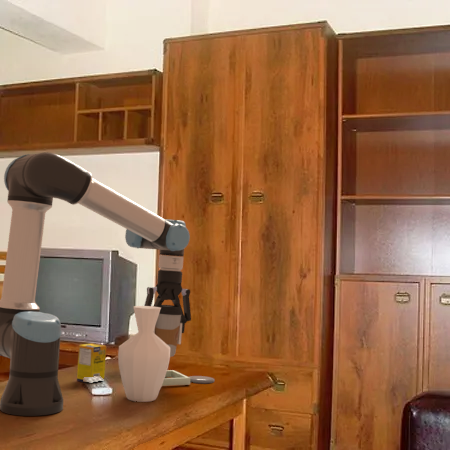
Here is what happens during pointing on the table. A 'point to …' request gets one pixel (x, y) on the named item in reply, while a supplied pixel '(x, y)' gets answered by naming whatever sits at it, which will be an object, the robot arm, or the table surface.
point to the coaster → (201, 379)
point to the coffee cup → (169, 326)
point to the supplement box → (91, 361)
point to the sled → (174, 377)
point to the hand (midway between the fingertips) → (164, 343)
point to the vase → (143, 358)
